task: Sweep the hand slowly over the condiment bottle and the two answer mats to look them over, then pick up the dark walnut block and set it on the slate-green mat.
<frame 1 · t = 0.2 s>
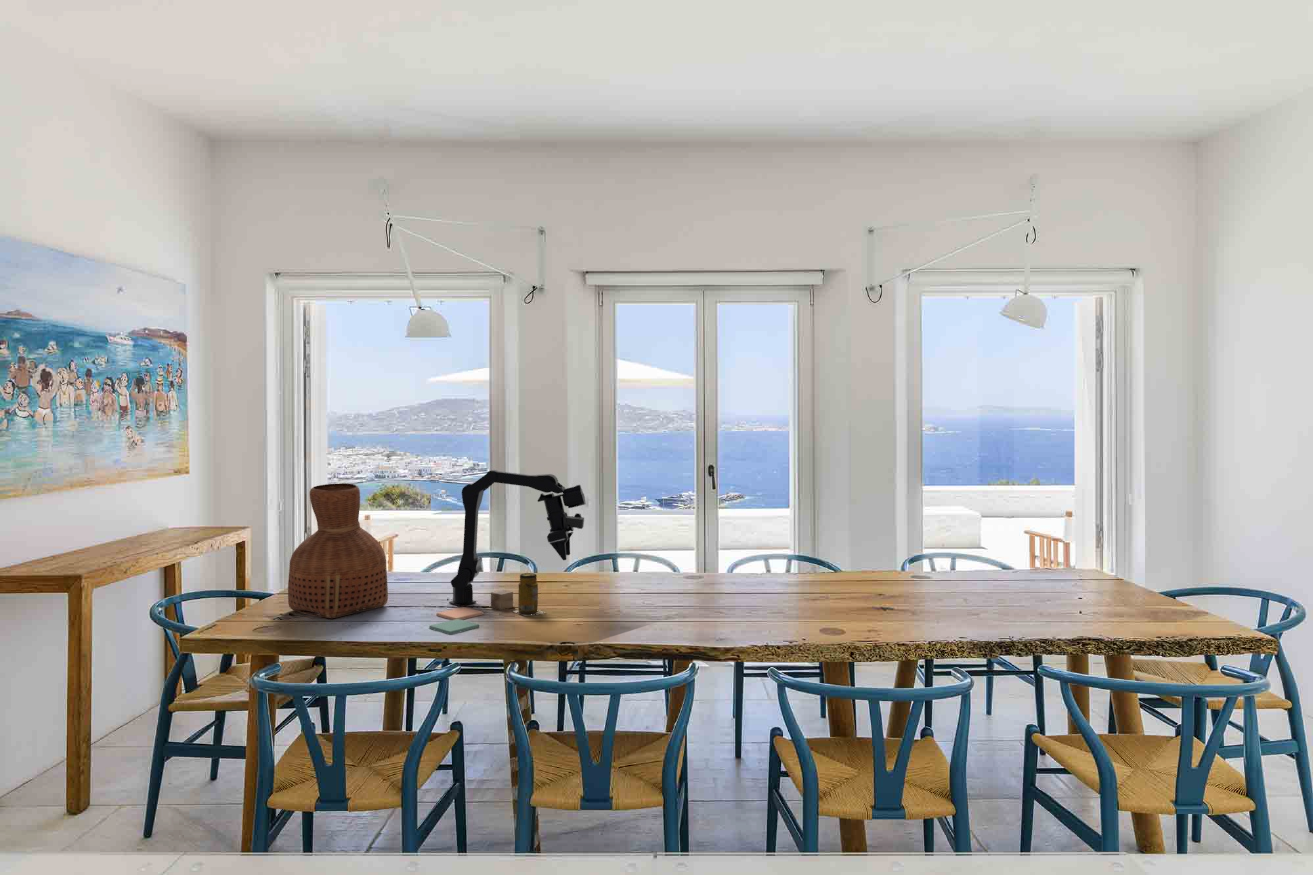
hand: (566, 557, 252), 15 cm above the table, tool pointing down, fingers open, 9 cm apart
mat terracotta: (459, 614, 237), on the table
mat green: (454, 627, 222), on the table
condiment: (529, 613, 240), on the table
brown cube: (502, 607, 247), on the table
basket: (339, 609, 244), on the table
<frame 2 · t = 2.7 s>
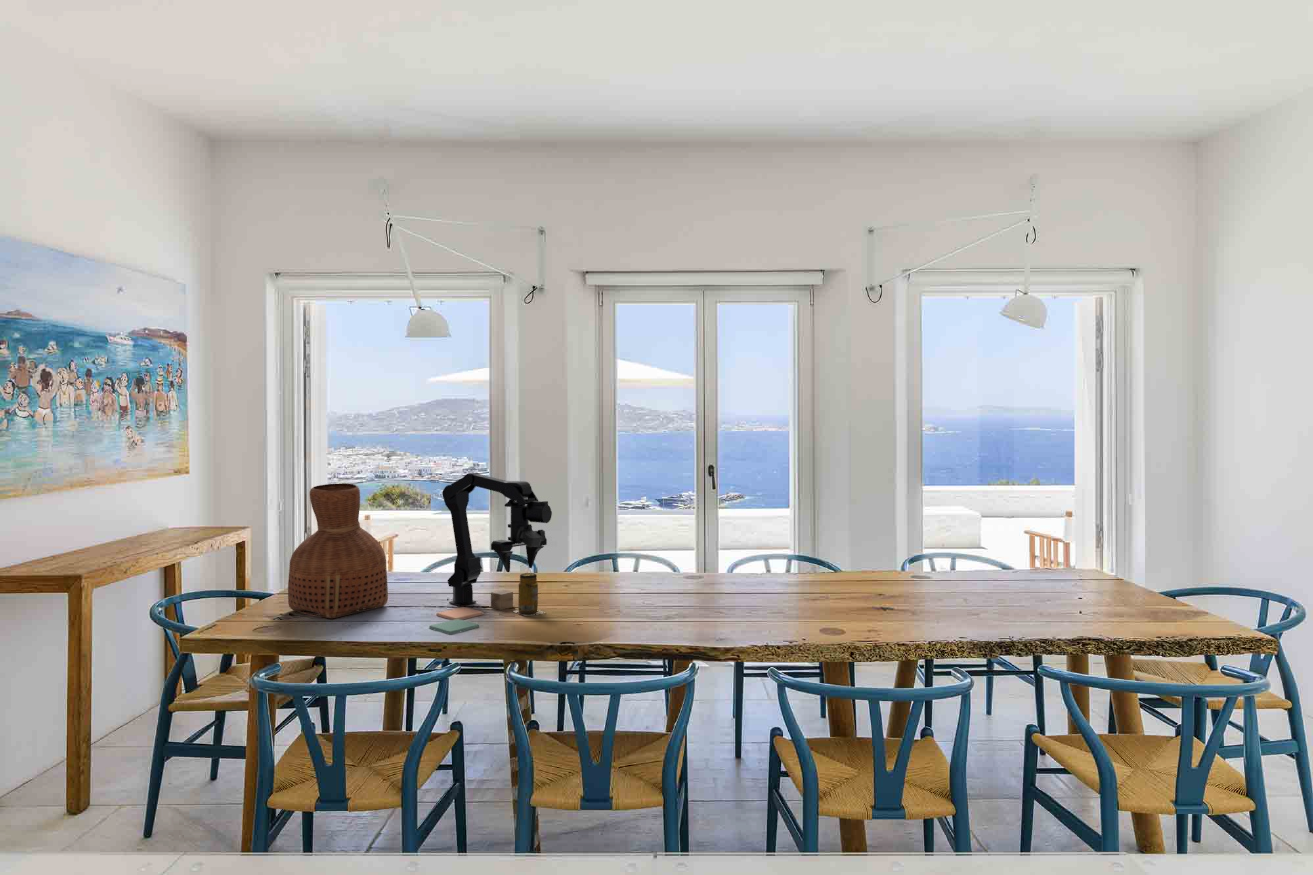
hand: (519, 569, 243), 13 cm above the table, tool pointing down, fingers open, 9 cm apart
nothing on the table moved.
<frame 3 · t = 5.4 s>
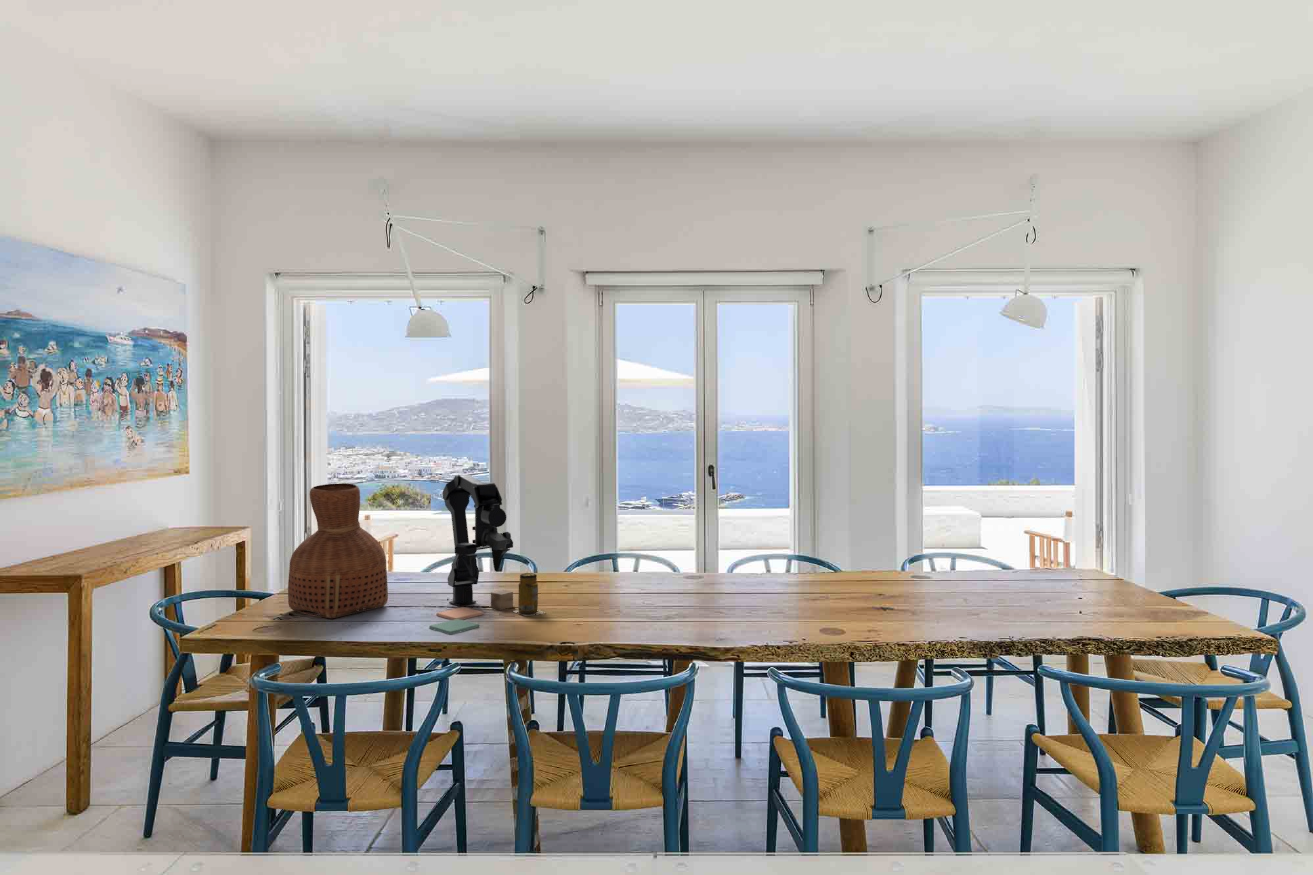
hand: (484, 573, 236), 13 cm above the table, tool pointing down, fingers open, 9 cm apart
nothing on the table moved.
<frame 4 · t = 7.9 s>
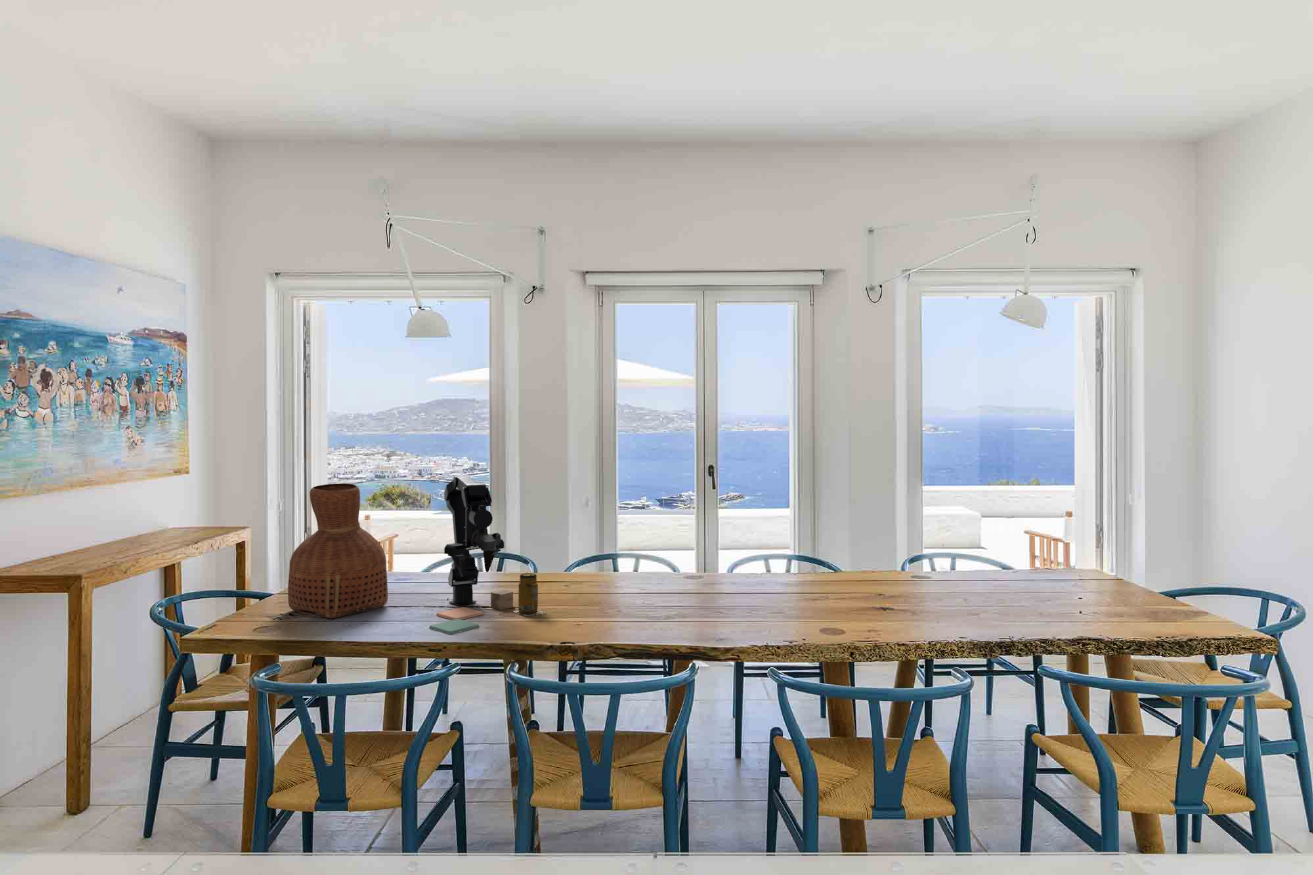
hand: (474, 574, 237), 13 cm above the table, tool pointing down, fingers open, 9 cm apart
nothing on the table moved.
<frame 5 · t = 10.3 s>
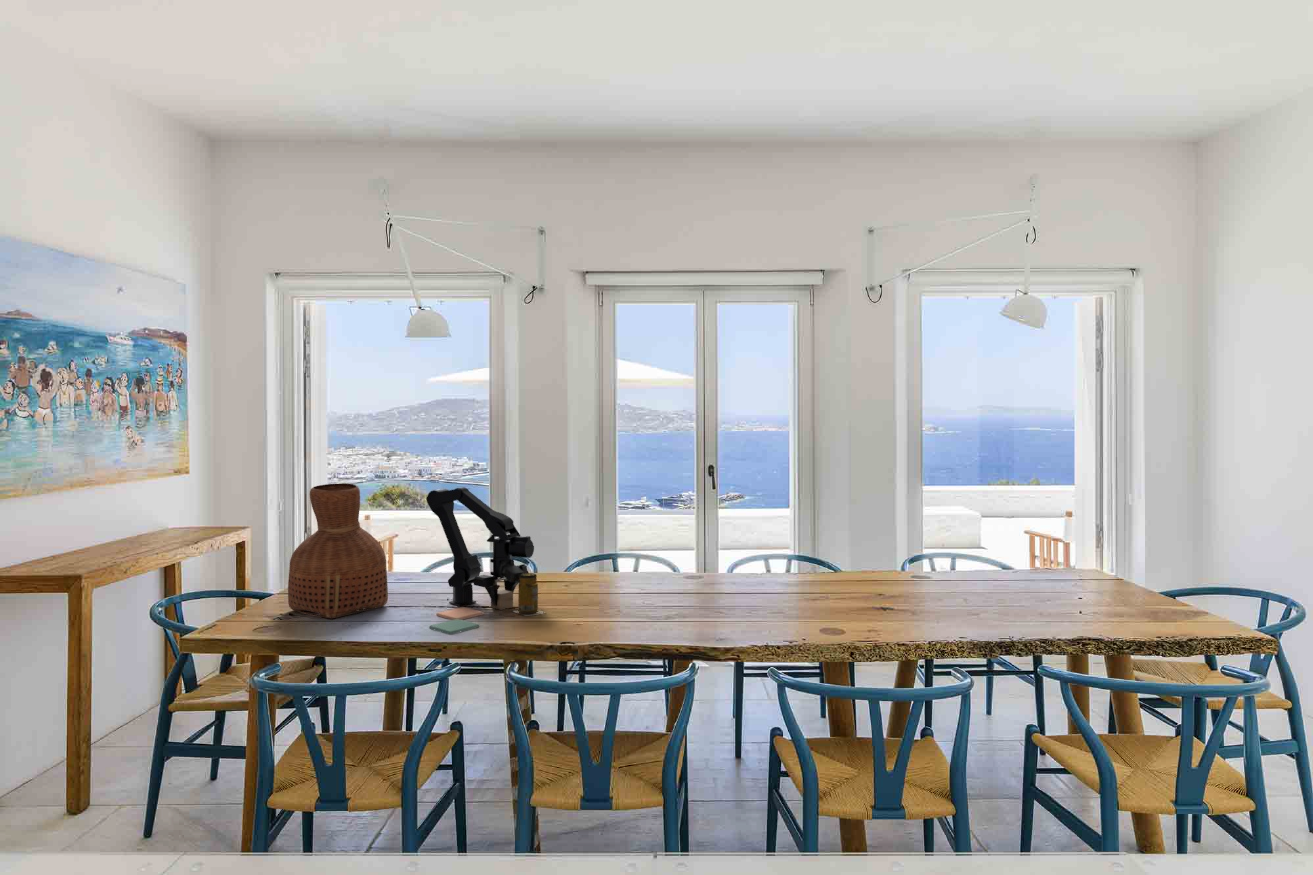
hand: (502, 603, 247), 1 cm above the table, tool pointing down, fingers closed on brown cube, 5 cm apart
brown cube: (502, 607, 247), on the table, touching gripper
everything else where it was.
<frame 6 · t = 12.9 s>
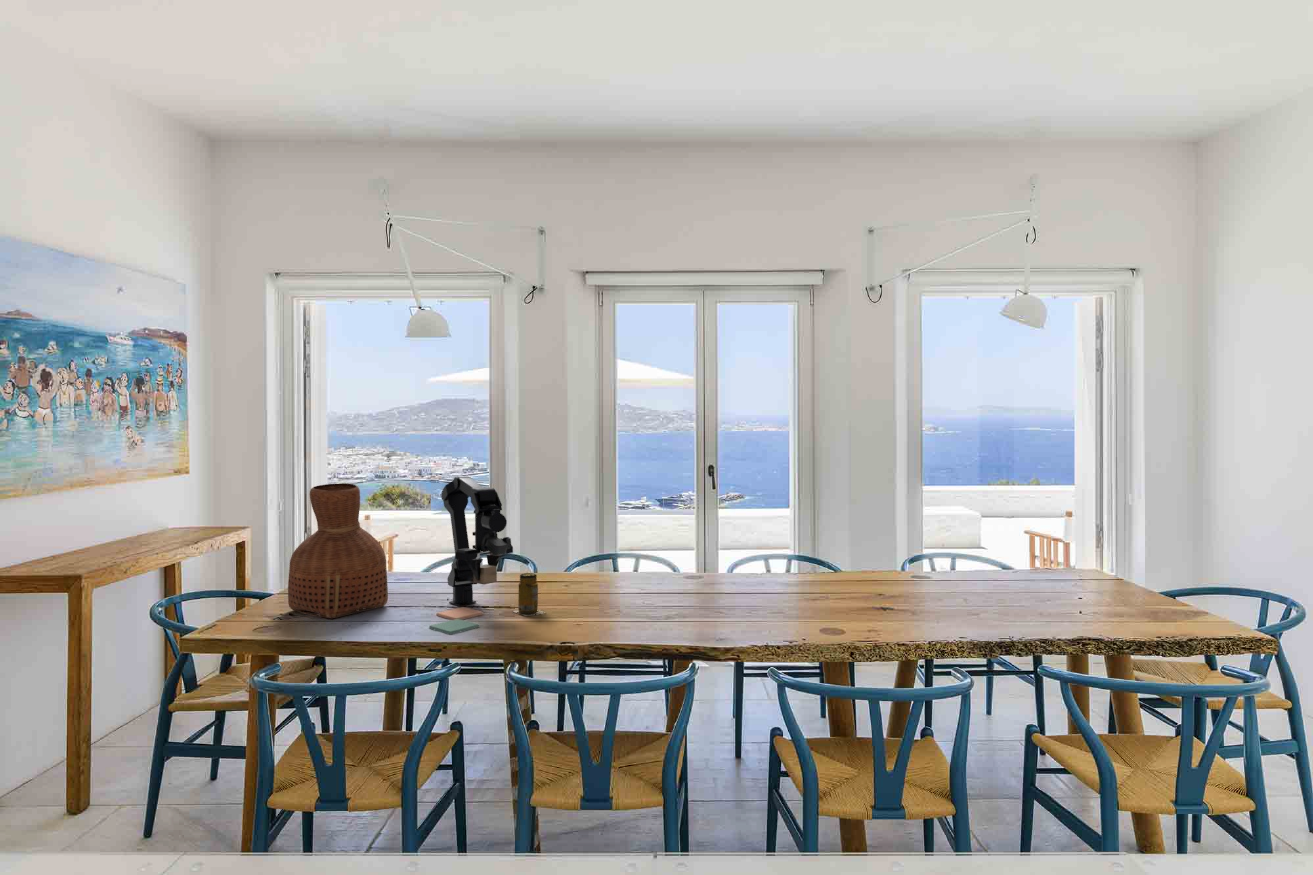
hand: (484, 578, 237), 11 cm above the table, tool pointing down, fingers closed on brown cube, 5 cm apart
brown cube: (485, 582, 237), point 10 cm above the table, touching gripper
everything else where it was.
when the fingers open (3 cm above the table, at t = 15.8 s): brown cube drops 1 cm, resting on mat green.
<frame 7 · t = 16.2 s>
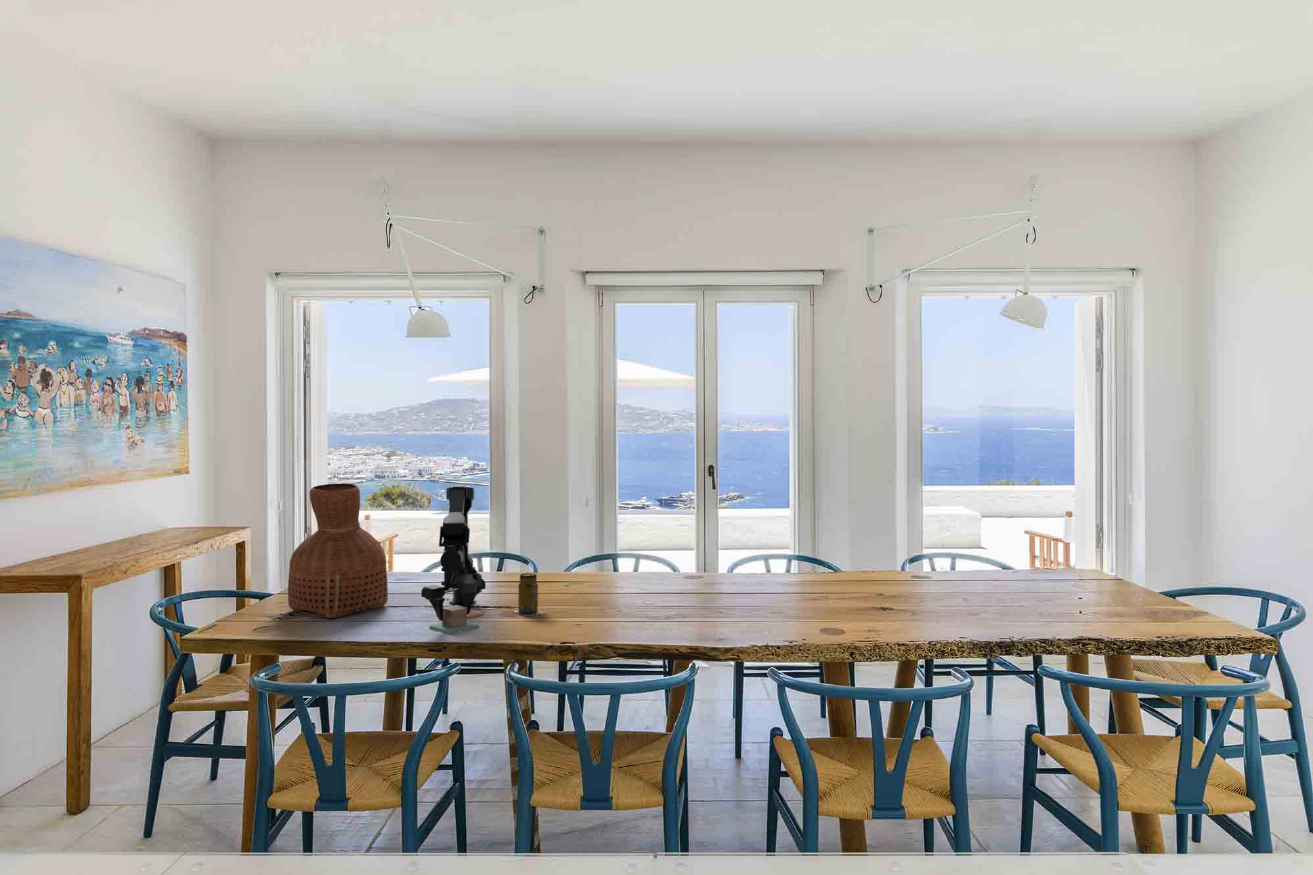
hand: (454, 617, 222), 3 cm above the table, tool pointing down, fingers open, 9 cm apart
brown cube: (454, 624, 222), point 1 cm above the table, touching mat green
everything else where it was.
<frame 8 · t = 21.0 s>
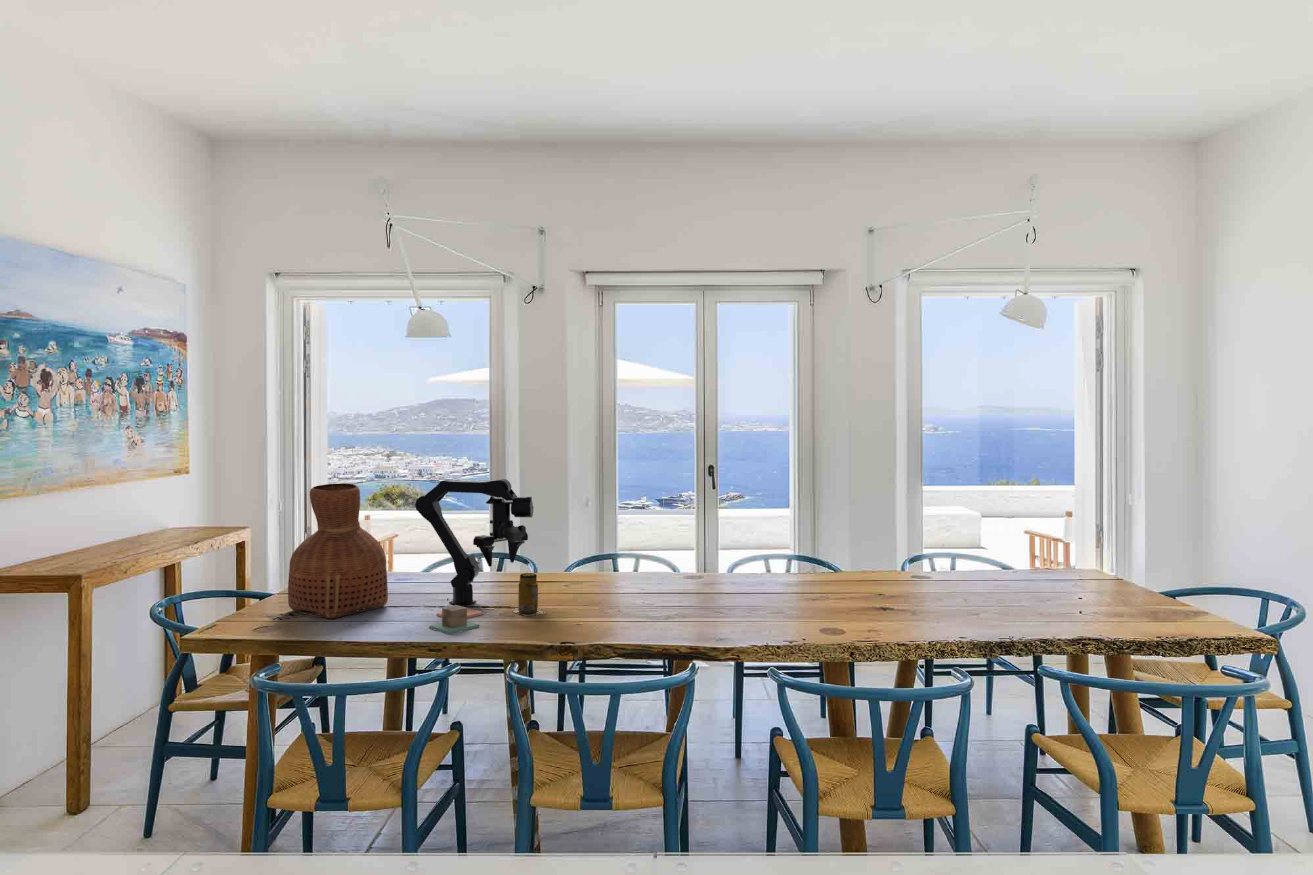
hand: (501, 564, 252), 13 cm above the table, tool pointing down, fingers open, 9 cm apart
nothing on the table moved.
at the end: brown cube inside the target area on the mat green (0.1 cm from its centre), point 0.8 cm above the mat green's base; brown cube tilted 0°; the gripper is holding nothing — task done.
